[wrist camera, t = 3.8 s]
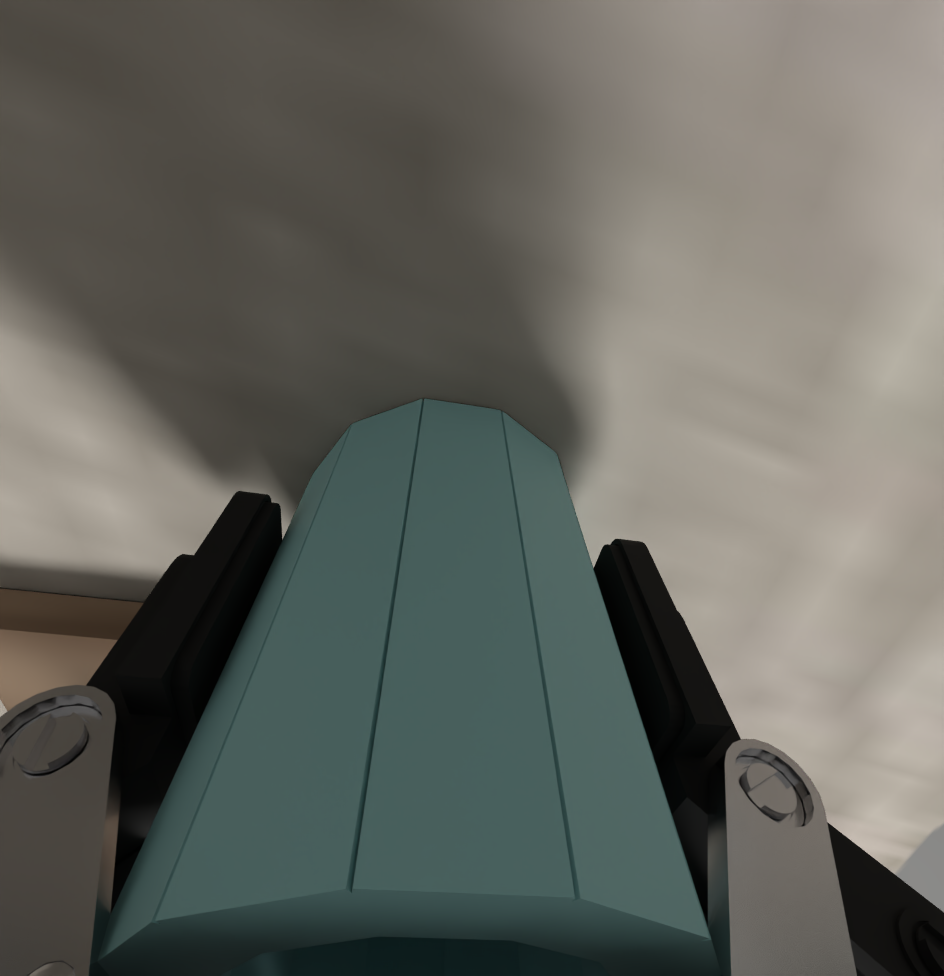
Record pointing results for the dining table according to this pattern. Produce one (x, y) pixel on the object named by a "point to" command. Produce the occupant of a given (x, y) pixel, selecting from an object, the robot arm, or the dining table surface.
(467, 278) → the dining table surface
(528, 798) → the sleeve
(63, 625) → the pin board
